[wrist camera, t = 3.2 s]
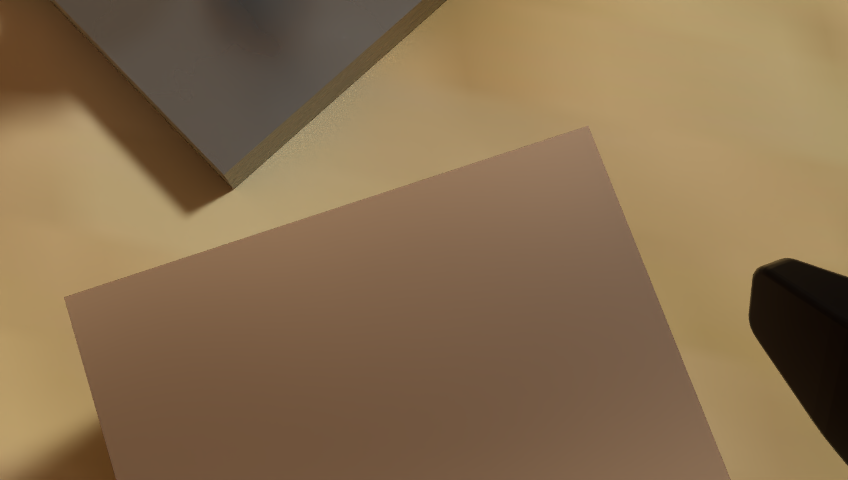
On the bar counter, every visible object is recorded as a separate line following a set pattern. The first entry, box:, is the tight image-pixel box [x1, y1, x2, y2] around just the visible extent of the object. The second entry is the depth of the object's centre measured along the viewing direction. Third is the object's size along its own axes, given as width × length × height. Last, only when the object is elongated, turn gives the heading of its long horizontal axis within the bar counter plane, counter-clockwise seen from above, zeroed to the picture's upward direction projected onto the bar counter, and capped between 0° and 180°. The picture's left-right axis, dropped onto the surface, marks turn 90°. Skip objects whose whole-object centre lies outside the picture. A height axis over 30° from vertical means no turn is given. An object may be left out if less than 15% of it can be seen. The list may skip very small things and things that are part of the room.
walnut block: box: [64, 126, 731, 480], centre depth 12 cm, size 6×6×9 cm
